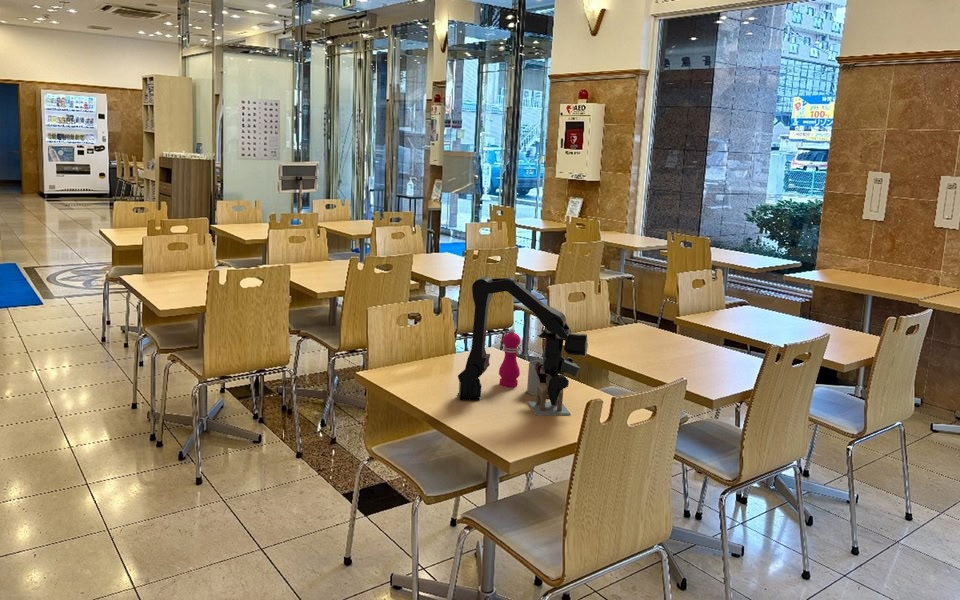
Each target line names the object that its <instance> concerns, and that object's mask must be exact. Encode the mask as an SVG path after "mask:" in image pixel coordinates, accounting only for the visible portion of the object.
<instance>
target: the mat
mask: <svg viewBox="0 0 960 600" xmlns="http://www.w3.org/2000/svg"><path fill="white" fill-rule="evenodd" d="M557 403H558V402H557ZM527 404H528V405H529V407H530V409H531V410H532V412H533V414H535V416H571V411H569V410H568V409H567V407H566V406H565V405H564V403H563V402H562V411H558V410H557V405H551V402H550V401H546V403H545V411H541V410H540V406H541V405H537V404H536V401H528V402H527Z"/></svg>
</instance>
